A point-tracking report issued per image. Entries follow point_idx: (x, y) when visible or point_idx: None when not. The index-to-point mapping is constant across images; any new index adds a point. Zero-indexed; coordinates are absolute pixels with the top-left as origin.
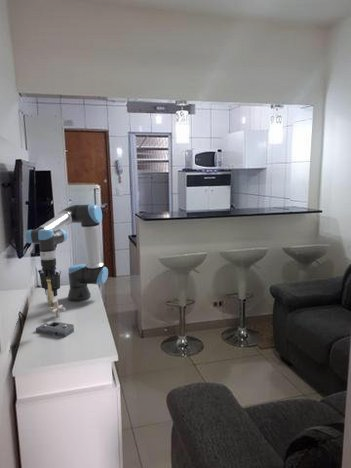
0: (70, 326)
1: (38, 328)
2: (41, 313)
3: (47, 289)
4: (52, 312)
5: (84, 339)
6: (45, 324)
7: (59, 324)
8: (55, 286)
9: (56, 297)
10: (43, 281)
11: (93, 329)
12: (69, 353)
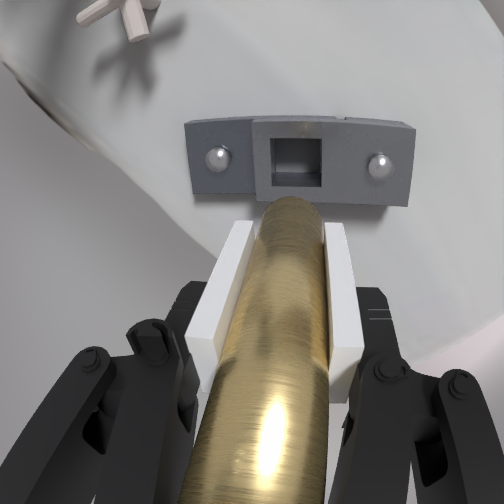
0: (413, 157)
1: (209, 191)
2: (54, 34)
3: (199, 374)
4: (140, 38)
5: (485, 188)
6: (215, 152)
7: (327, 150)
8: (421, 470)
9: (348, 255)
10: (84, 481)
11: (476, 78)
12: (468, 293)
